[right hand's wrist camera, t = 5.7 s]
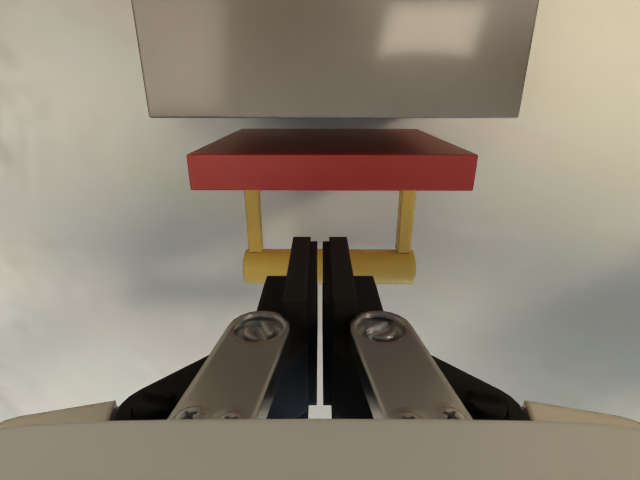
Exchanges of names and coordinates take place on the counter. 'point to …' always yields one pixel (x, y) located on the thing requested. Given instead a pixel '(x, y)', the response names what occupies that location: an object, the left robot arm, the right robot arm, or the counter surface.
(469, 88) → the cabinet
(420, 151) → the drawer
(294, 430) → the right robot arm
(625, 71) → the counter surface
